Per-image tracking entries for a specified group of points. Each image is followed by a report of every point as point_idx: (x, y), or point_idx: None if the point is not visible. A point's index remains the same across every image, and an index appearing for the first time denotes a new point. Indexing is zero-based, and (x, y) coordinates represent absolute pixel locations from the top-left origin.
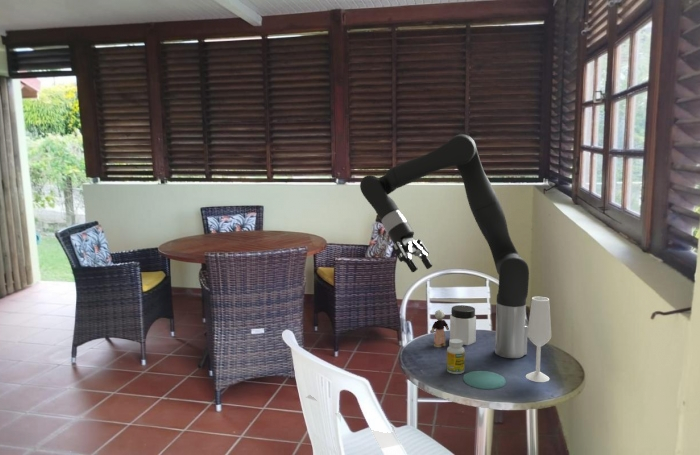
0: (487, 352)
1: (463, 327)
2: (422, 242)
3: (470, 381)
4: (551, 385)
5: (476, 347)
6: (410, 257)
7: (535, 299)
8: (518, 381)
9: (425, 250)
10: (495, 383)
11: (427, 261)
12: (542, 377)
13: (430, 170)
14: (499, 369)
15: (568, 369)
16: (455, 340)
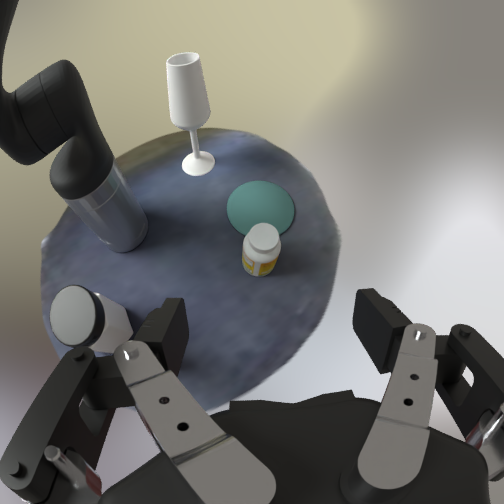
0: (138, 261)
1: (112, 309)
2: (21, 438)
3: (284, 218)
4: (213, 144)
5: (125, 289)
6: (419, 325)
7: (173, 69)
8: (228, 174)
9: (85, 380)
10: (263, 189)
11: (175, 326)
12: (203, 153)
13: None
14: (202, 210)
15: (147, 150)
16: (261, 238)
